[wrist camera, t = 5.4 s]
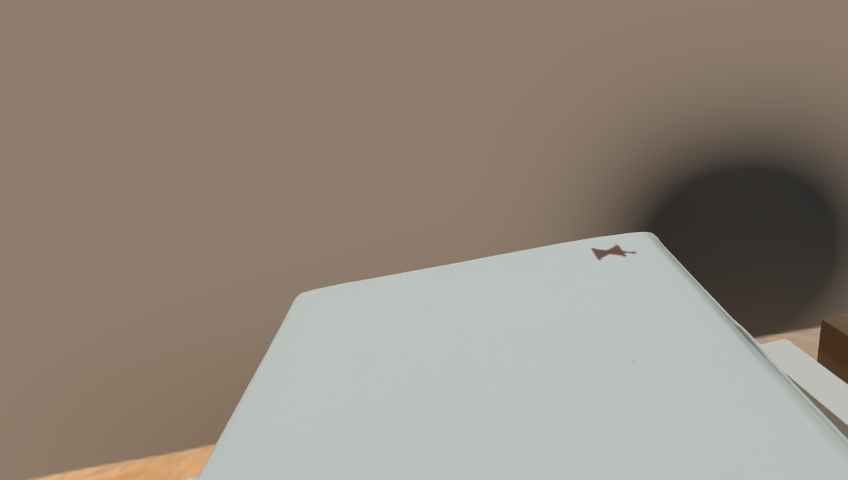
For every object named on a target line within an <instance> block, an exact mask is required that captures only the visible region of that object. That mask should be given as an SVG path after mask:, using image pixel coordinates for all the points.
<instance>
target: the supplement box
mask: <svg viewBox="0 0 848 480" xmlns="http://www.w3.org/2000/svg"><path fill="white" fill-rule="evenodd" d="M197 480H848V439H847V438H846V437H845V436H844V435H843V434H842V433H841V432H840V431H839V430H838V429H837V427H836V426H835V425H834V424H833V423H832V422H831V421H830V420H829V419H828V418H827V417H826V416H825V415H824V414H823V413H822V412H821V411H820V410H819V409H818V408H817V407H816V406H815V405H814V404H813V403H812V401H811V400H810V399H809V398H808V397H807V396H806V395H805V394H804V393H803V392H802V391H801V390H800V389H799V388H798V387H797V386H796V385H795V384H794V383H793V382H792V381H791V379H790V378H789V377H788V376H787V375H786V374H785V373H784V372H783V371H782V370H781V369H780V368H779V367H778V365H777V364H776V363H775V362H774V361H773V360H772V359H771V358H770V357H769V356H768V354H767V353H766V352H765V350H764V349H763V347H762V346H761V345H760V344H759V343H758V342H757V341H756V340H755V339H754V338H753V337H752V336H751V335H750V334H749V333H748V332H747V331H746V330H745V329H744V328H742V327H741V326H740V325H739V324H738V323H737V322H736V321H735V320H734V319H733V318H732V317H731V316H730V315H729V314H728V313H727V312H725V310H724V309H723V308H722V307H721V306H720V305H719V304H718V302H717V301H716V300H714V298H713V297H712V296H711V295H710V294H709V293H708V292H707V291H706V290H705V289H704V288H703V287H702V286H701V285H700V284H699V283H698V282H697V281H696V280H695V279H694V278H693V276H691V274H690V273H689V272H688V271H687V270H686V269H685V268H684V267H683V266H682V265H681V264H680V263H679V262H678V260H677V259H676V258H675V257H674V256H673V255H672V254H671V253H670V252H669V251H668V250H667V249H666V248H665V247H664V246H663V245H662V243H661V242H660V241H659V240H658V238H657V237H656V236H655V235H654V234H653V233H649V232H637V233H627V234H619V235H612V236H604V237H597V238H590V239H584V240H578V241H572V242H566V243H560V244H554V245H549V246H544V247H539V248H534V249H528V250H523V251H518V252H512V253H507V254H502V255H496V256H491V257H485V258H480V259H476V260H471V261H465V262H460V263H454V264H449V265H443V266H438V267H432V268H426V269H421V270H416V271H410V272H405V273H400V274H394V275H389V276H383V277H378V278H373V279H367V280H361V281H356V282H350V283H344V284H339V285H335V286H329V287H325V288H320V289H315V290H311V291H308V292H304V293H301V294H300V295H299V296H297V297H296V299H295V300H294V302H293V304H292V306H291V308H290V310H289V311H288V313H287V315H286V317H285V319H284V321H283V323H282V325H281V327H280V329H279V330H278V332H277V334H276V336H275V338H274V340H273V342H272V343H271V345H270V347H269V349H268V351H267V353H266V355H265V356H264V358H263V360H262V362H261V364H260V365H259V367H258V369H257V371H256V373H255V375H254V376H253V378H252V380H251V382H250V383H249V386H248V387H247V389H246V391H245V392H244V394H243V396H242V398H241V400H240V402H239V404H238V405H237V407H236V409H235V411H234V412H233V414H232V416H231V418H230V420H229V422H228V423H227V425H226V427H225V429H224V431H223V433H222V434H221V436H220V438H219V440H218V441H217V443H216V445H215V447H214V449H213V451H212V452H211V454H210V456H209V458H208V460H207V461H206V463H205V465H204V467H203V469H202V471H201V472H200V474H199V476H198V478H197Z"/></svg>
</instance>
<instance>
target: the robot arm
mask: <svg viewBox="0 0 848 480" xmlns="http://www.w3.org/2000/svg"><path fill="white" fill-rule="evenodd" d="M760 345H761V346H762V347H763V349H764V350H765V352H766V353H767V354H768V356H769V357H770V358H771V359H772V360H773V361H774V362H775V363H776V364H777V365H778V367H779V368H780V369H781V370H782V371H783V372H784V373H785V374H786V375H787V376H788V377H789V378H790V379H791V381H792V382H793V383H794V384H795V385H796V386H797V387H798V388H799V389H800V390H801V391H802V392H803V393H804V394H805V395H806V396H807V397H808V398H809V399H810V400H811V401H812V403H813V404H814V405H815V406H816V407H817V408H818V409H819V410H820V411H821V412H822V413H823V414H824V415H825V416H826V417H827V418H828V419H829V420H830V421H831V422H832V423H833V424H834V425H835V426H836V427H837V429H838V430H839V431H840V432H841V433H842V434H843V435H844V436H845V437H846V438H847V439H848V384H846V383H845V382H844V381H842V380H841V379H840V378H838V377H837V376H836V375H834V374H833V373H832V372H830V371H829V370H828V369H826V368H825V367H824V366H822V365H821V364H820V363H818V362H817V361H816V360H814V359H813V358H812V357H810V356H809V355H808V354H806V353H805V352H803V351H802V350H801V349H799V348H798V347H797V346H795V345H794V344H793V343H791V342H790V341H789V340H787V339H782V340H777V341H773V342H769V343H765V344H760ZM197 478H198V477H194V478H189V479H185V480H197Z"/></svg>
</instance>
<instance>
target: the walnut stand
mask: <svg viewBox="0 0 848 480" xmlns="http://www.w3.org/2000/svg"><path fill="white" fill-rule="evenodd" d="M817 362H818V363H820V364H821V365H822V366H824V367H825V368H826V369H828V370H829V371H830V372H832V373H833V374H834V375H836V376H837V377H838V378H840V379H841V380H842V381H844V382H845V383H846V384H848V313H846V314H842V315H838V316H834V317H829V318H825V319H822V323H821V331H820V341H819V350H818V359H817Z"/></svg>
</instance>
